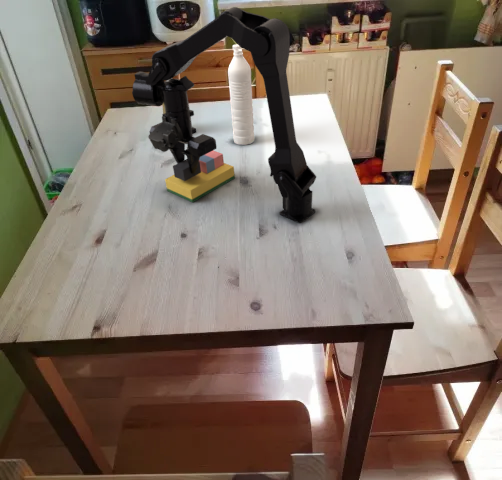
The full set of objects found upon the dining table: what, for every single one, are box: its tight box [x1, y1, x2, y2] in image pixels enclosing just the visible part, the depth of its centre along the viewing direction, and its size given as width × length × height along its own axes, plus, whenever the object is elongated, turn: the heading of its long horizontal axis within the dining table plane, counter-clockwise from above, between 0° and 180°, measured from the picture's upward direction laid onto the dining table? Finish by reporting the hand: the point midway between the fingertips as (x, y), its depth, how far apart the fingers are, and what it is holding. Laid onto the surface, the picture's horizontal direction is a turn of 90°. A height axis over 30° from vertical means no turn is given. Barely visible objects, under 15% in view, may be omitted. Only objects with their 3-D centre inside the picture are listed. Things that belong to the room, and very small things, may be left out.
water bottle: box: [227, 43, 255, 146], centre depth 135 cm, size 9×6×25 cm
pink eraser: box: [199, 150, 225, 174], centre depth 124 cm, size 6×4×3 cm, turn 138°
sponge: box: [164, 162, 236, 203], centre depth 125 cm, size 16×10×3 cm, turn 138°
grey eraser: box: [172, 158, 201, 181], centre depth 119 cm, size 6×4×3 cm
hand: (187, 171), depth 120 cm, fingers closed on grey eraser, 4 cm apart
